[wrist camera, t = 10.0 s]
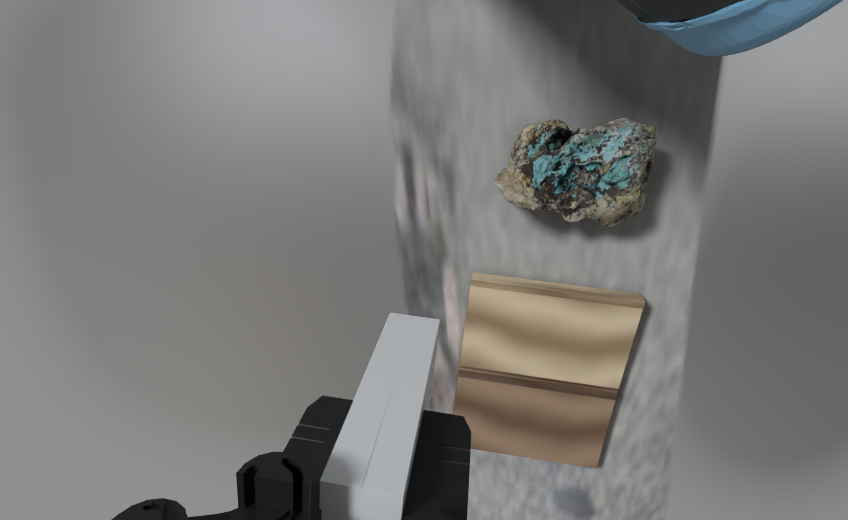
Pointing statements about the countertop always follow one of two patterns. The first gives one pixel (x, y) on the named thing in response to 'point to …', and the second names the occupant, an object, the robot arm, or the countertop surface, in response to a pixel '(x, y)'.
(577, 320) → the board
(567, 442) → the floor board
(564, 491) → the countertop surface
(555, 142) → the mineral specimen
